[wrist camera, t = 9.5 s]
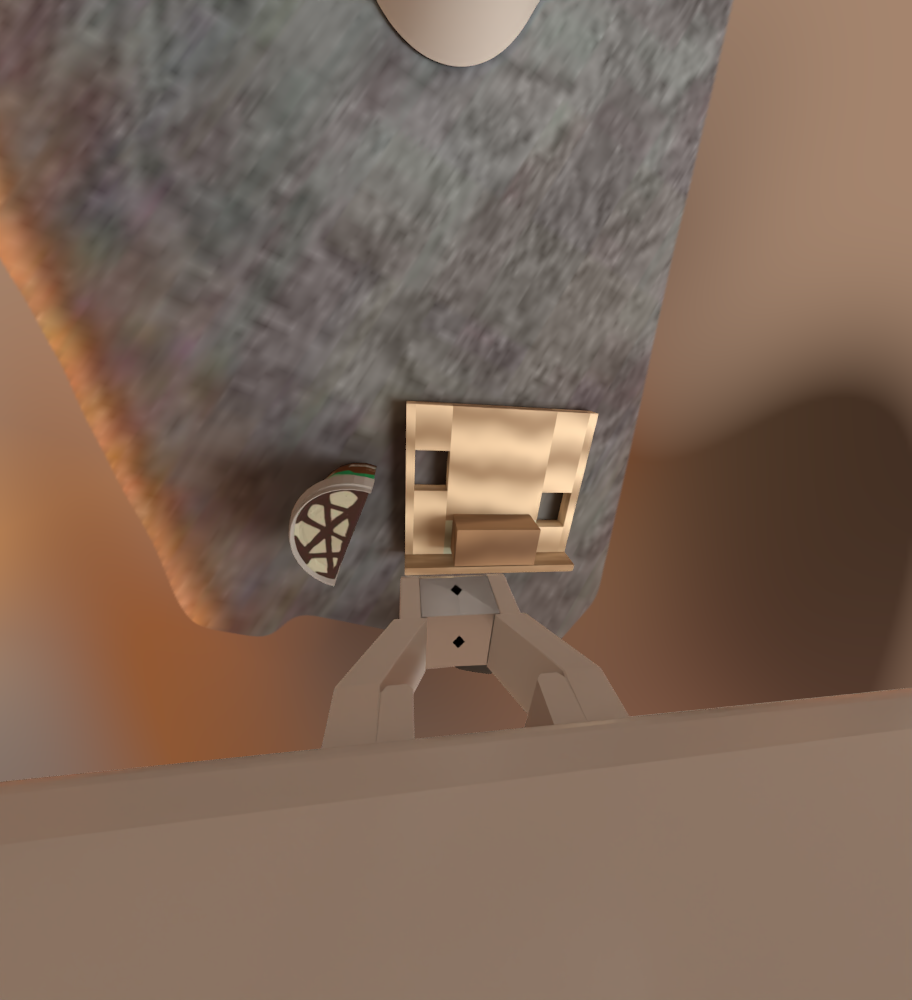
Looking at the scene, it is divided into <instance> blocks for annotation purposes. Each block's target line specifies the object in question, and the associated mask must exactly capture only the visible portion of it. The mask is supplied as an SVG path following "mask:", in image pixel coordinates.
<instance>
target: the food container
mask: <svg viewBox="0 0 912 1000" xmlns="http://www.w3.org/2000/svg"><path fill="white" fill-rule="evenodd" d="M376 467H377V466H374V465H371V464H367V463H351V464H348V465H344V466H341V467H339V468H338V469H336V470H335V471H333V472H332V473H330V475H329V476H328V477H327V478H326V479H325V480H323V481H320V482H318V483H316V484H314V485H313V486H312V487H310V488H309V489H307V490H306V491H305V492H304V493H303V494H302V495H301V496H300V498H299V499H298V501H297V502H296V504H295V506H294V508H293V510H292V513H291V518H290V524H289V541H290V546H291V549H292V552H293V554H294V556H295V558H296V560H297V561H298V563H299V564H300V565H301V567H302V568H303V569H304V570H305V571H306V572H307V573H309V574H310V575H311V576H313V577H314V578H316V579H317V580H319V581H321V582H323V583H326V584H328V585H331V586H334V585H335V582H336V578H337V575H338V572H339V569H340V566H341V563H342V560H343V558H344V554H345V552H346V549H347V547H348V544H349V542H350V539H351V537H352V534H353V532H354V530H355V526H356V524H357V522H358V519H359V517H360V515H361V512H362V509H363V507H364V504H365V501H366V499H367V496H368V493H371V491H372V488H373V485H374V481H375V479H374V476H375V471H376Z"/></svg>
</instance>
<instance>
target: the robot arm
mask: <svg viewBox="0 0 912 1000" xmlns="http://www.w3.org/2000/svg"><path fill="white" fill-rule="evenodd" d="M539 1H540V0H377V2H378V4H379V6H380V8H381V9H382V11H383V13H384V14H385V16H386V17H387V19H388V20H389V22H390V23H391V24H392V26H393V27H394V28H395V29H396V31H397V32H398V33H399V34H400V35H401V36H402V37H403V39H404V40H406V41H407V42H408V43H409V44H410V45H411V46H412V47H413V48H414V49H416V50H417V51H418V52H420V53H421V54H423V55H424V56H426V57H428V58H430V59H432V60H434V61H436V62H439V63H442V64H445V65H450V66H458V67H464V66H473V65H477V64H480V63H483V62H486V61H488V60H490V59H492V58H493V57H495V56H497V55H498V54H499V53H501V52H502V51H503V50H505V49H506V48H507V47H508V46H509V45H510V44H511V43H512V42H513V41H514V39H515V38H516V37H517V36H518V35H519V33H520V32H521V31H522V29H523V28H524V26H525V25H526V23H527V21H528V20H529V18H530V16H531V14H532V13H533V11H534V9H535V7H536V6H537V4H538V3H539ZM472 665H487V667H488V668H489V669H490V671H491V672H492V673H493V674H494V675H495V677H497V679H498V680H499V681H500V682H501V684H502V685H503V686H504V687H505V688H506V689H507V691H508V692H509V693H510V694H511V695H512V696H513V698H514V699H515V700H516V701H517V702H518V703H519V705H520V706H521V707H522V708H523V709H524V711H525V712H526V713H527V714H528V717H527V720H526V724H525V728H519V729H508V730H498V731H489V732H479V733H469V734H460V735H449V736H440V737H430V738H421V739H415V737H414V701H413V693H414V691H415V690H416V687H417V686H418V684H419V682H420V680H421V678H422V676H423V675H424V673H425V669H432V668H443V667H453V666H472ZM0 1000H912V688H904V689H895V690H885V691H876V692H866V693H856V694H847V695H837V696H827V697H817V698H808V699H798V700H788V701H779V702H769V703H759V704H749V705H740V706H730V707H720V708H710V709H701V710H691V711H681V712H671V713H662V714H652V715H643V716H633V717H629V715H628V713H627V712H626V710H625V709H624V707H623V705H622V703H621V702H620V700H619V698H618V696H617V695H616V693H615V691H614V690H613V688H612V686H611V685H610V683H609V681H608V680H607V678H606V676H605V675H604V673H603V671H602V669H601V668H600V667H599V666H597V665H596V664H595V663H593V662H592V661H590V660H589V659H588V658H586V657H585V656H584V655H582V654H581V653H579V652H578V651H577V650H575V649H574V648H573V647H571V646H570V645H568V644H567V643H566V642H564V641H563V640H562V639H560V638H559V637H558V636H556V635H555V634H553V633H552V632H551V631H549V630H548V629H547V628H545V627H544V626H543V625H541V624H540V623H538V622H537V621H536V620H534V619H533V618H532V617H530V616H529V615H527V614H526V613H520V611H519V609H518V606H517V604H516V602H515V599H514V597H513V595H512V592H511V590H510V588H509V585H508V583H507V580H506V578H505V576H504V575H503V574H486V575H470V576H419V577H418V576H410V577H401V580H400V614H399V619H394V620H393V621H392V622H391V623H390V624H389V626H388V627H387V628H386V629H385V630H384V631H383V633H382V634H381V635H380V636H379V637H378V638H377V640H376V641H375V642H374V643H373V644H372V645H371V646H370V648H369V649H368V650H367V651H366V652H365V653H364V654H363V656H362V657H361V658H360V659H359V660H358V661H357V663H356V664H355V665H354V666H353V667H352V668H351V670H350V671H349V672H348V673H347V674H346V675H345V677H344V678H343V679H342V680H341V681H340V682H339V683H338V684H337V686H336V687H335V688H334V693H333V698H332V702H331V707H330V711H329V716H328V721H327V725H326V730H325V735H324V739H323V744H322V748H321V749H314V750H304V751H294V752H284V753H275V754H265V755H255V756H246V757H236V758H226V759H216V760H207V761H197V762H187V763H178V764H168V765H158V766H148V767H139V768H129V769H120V770H110V771H100V772H91V773H80V774H71V775H61V776H52V777H42V778H32V779H23V780H13V781H3V782H0Z"/></svg>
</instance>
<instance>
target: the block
mask: <svg viewBox="0 0 912 1000" xmlns="http://www.w3.org/2000/svg"><path fill="white" fill-rule="evenodd" d="M540 532H541V529H540V528H539V527H538V525H537V524H536V523H535V521H534V520H533V518H532V517H531V516H530V514H453V522H452V535H451V553H452V557H453V562H454V566H493V565H534V560H535V556H536V551H537V546H538V541H539V536H540Z"/></svg>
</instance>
